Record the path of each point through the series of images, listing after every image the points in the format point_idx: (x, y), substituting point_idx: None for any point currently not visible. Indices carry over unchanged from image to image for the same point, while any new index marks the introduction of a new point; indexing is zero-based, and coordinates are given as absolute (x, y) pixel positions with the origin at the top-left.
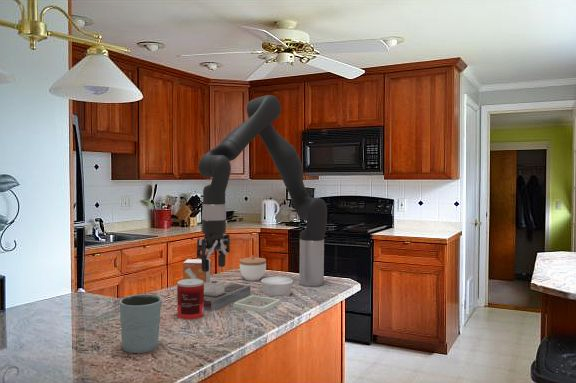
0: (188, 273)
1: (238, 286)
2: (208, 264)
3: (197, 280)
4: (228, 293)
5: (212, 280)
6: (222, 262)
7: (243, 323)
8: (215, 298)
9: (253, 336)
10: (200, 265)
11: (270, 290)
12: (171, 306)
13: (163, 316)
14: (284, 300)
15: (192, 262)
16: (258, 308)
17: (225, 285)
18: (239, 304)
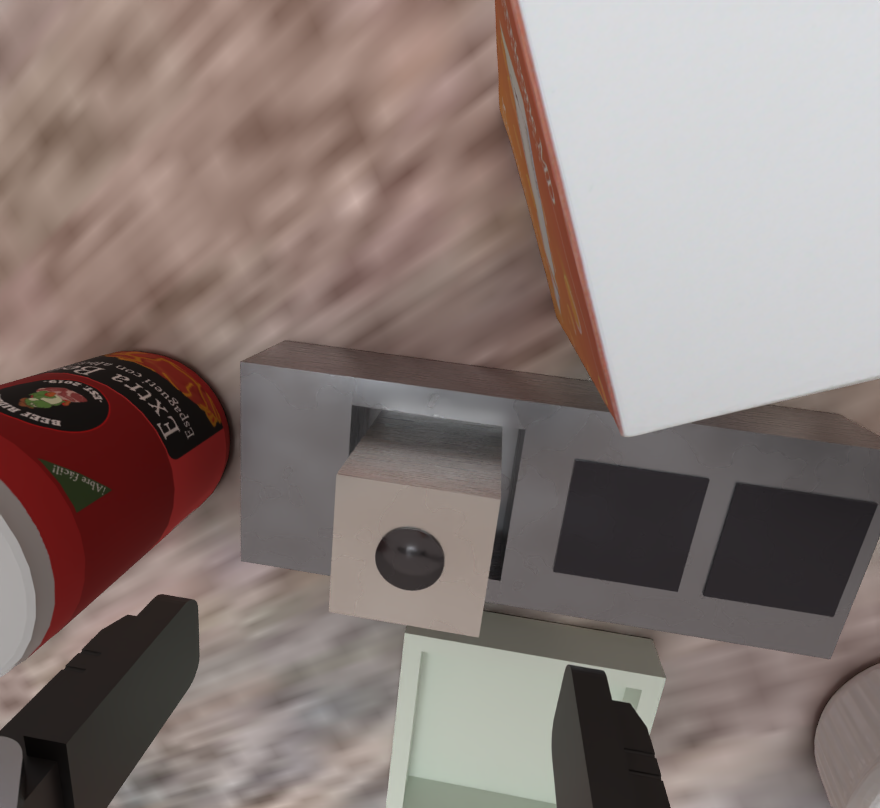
0: (517, 107)
1: (773, 578)
2: (125, 759)
3: (11, 596)
4: (505, 587)
5: (470, 509)
6: (560, 781)
7: (234, 722)
8: (325, 555)
9: (110, 805)
10: (585, 322)
11: (835, 770)
12: (311, 120)
13: (88, 233)
14: (761, 803)
15: (578, 131)
16: (389, 785)
17: (795, 443)
18: (400, 677)
